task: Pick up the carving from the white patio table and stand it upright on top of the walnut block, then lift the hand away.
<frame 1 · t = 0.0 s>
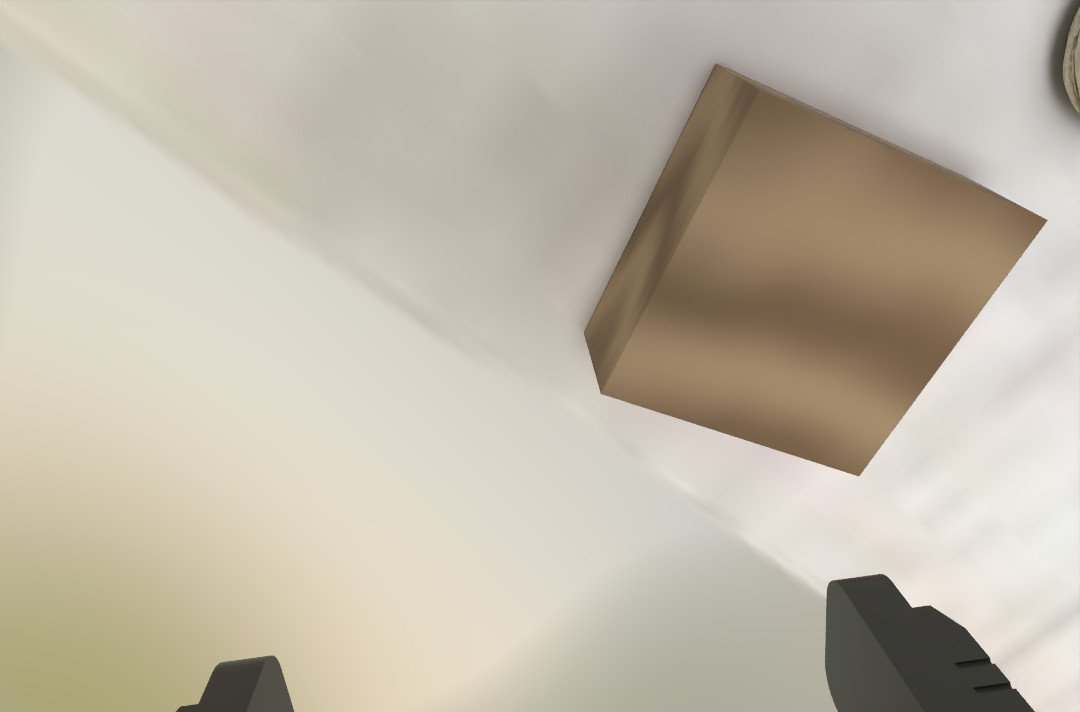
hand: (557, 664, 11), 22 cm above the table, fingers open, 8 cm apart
walnut block: (770, 258, 33), on the table
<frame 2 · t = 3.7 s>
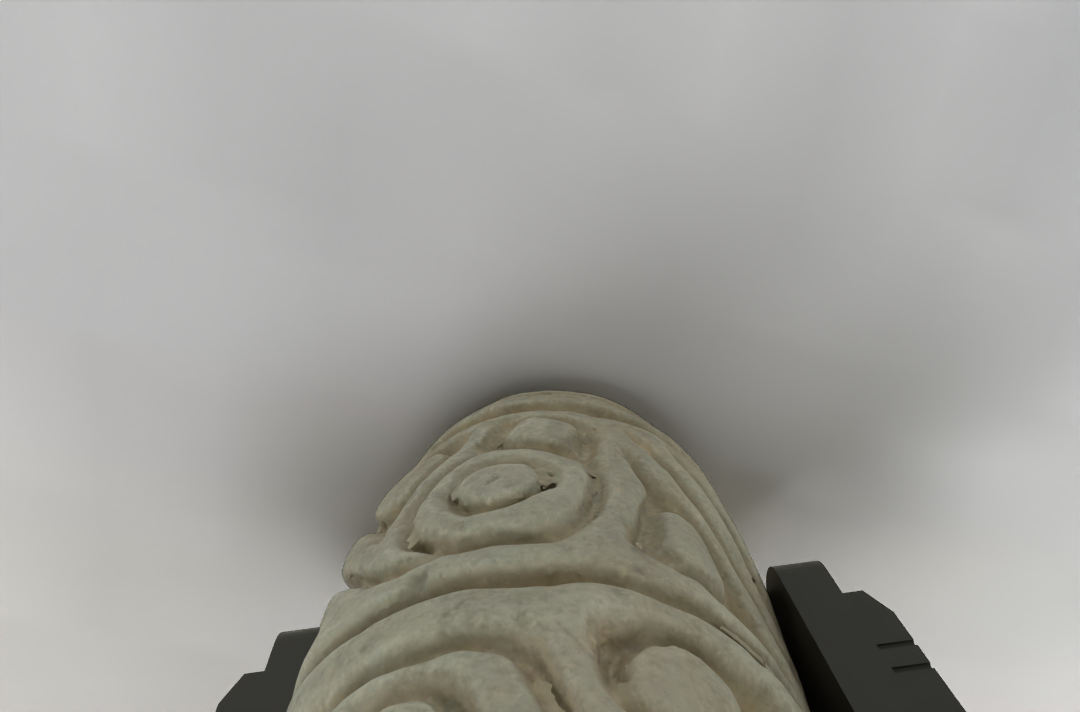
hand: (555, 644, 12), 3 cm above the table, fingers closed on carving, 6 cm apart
carving: (544, 515, 15), on the table, touching gripper
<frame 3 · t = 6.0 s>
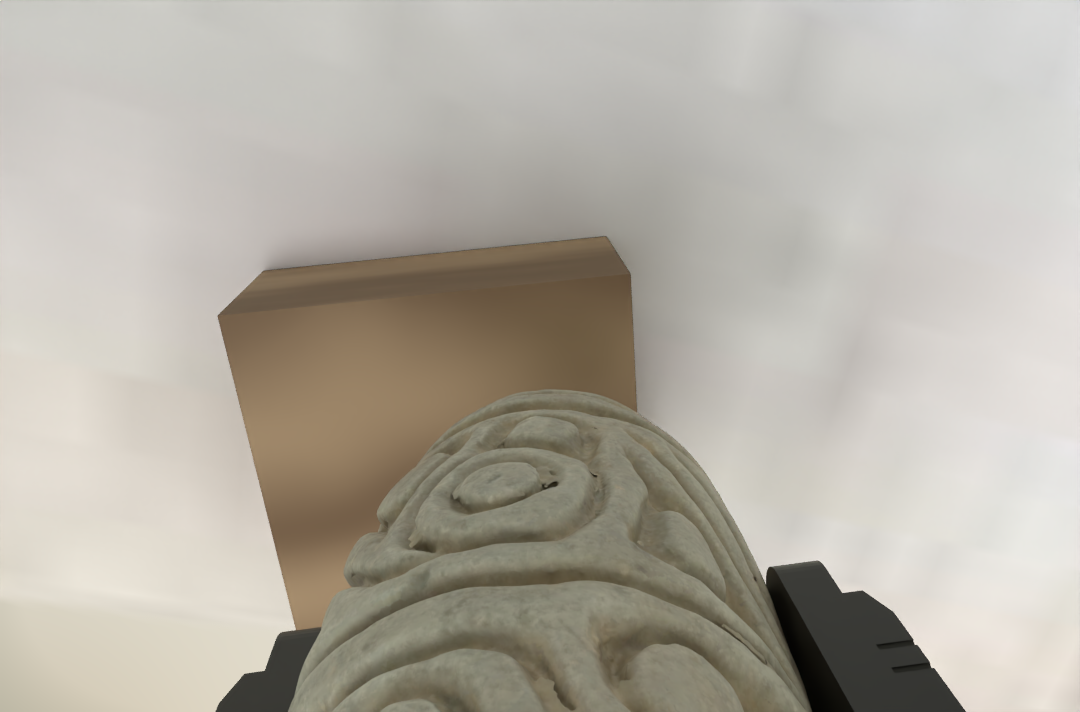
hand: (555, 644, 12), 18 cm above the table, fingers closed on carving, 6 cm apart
carving: (545, 514, 15), point 14 cm above the table, touching gripper
walnut block: (457, 408, 30), on the table
when the fingers open (10 cm above the table, at t = 8.4 s): carving drops 1 cm, resting on walnut block.
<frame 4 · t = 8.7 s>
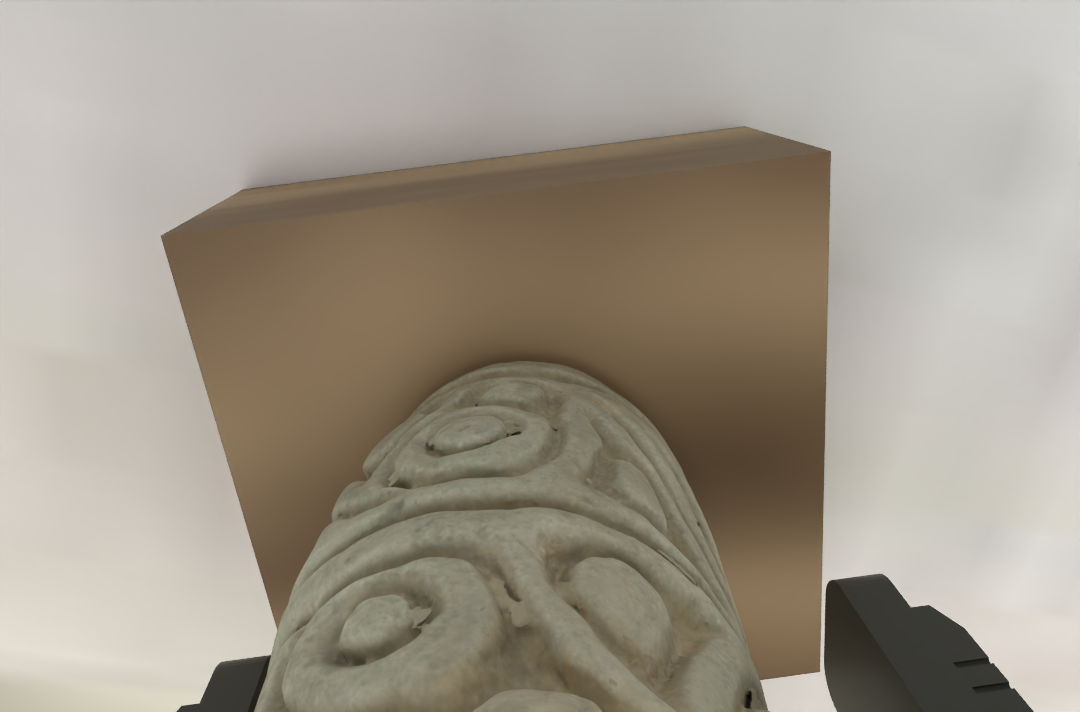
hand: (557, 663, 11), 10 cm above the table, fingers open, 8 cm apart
carving: (520, 479, 16), point 5 cm above the table, touching walnut block
walnut block: (525, 388, 21), on the table
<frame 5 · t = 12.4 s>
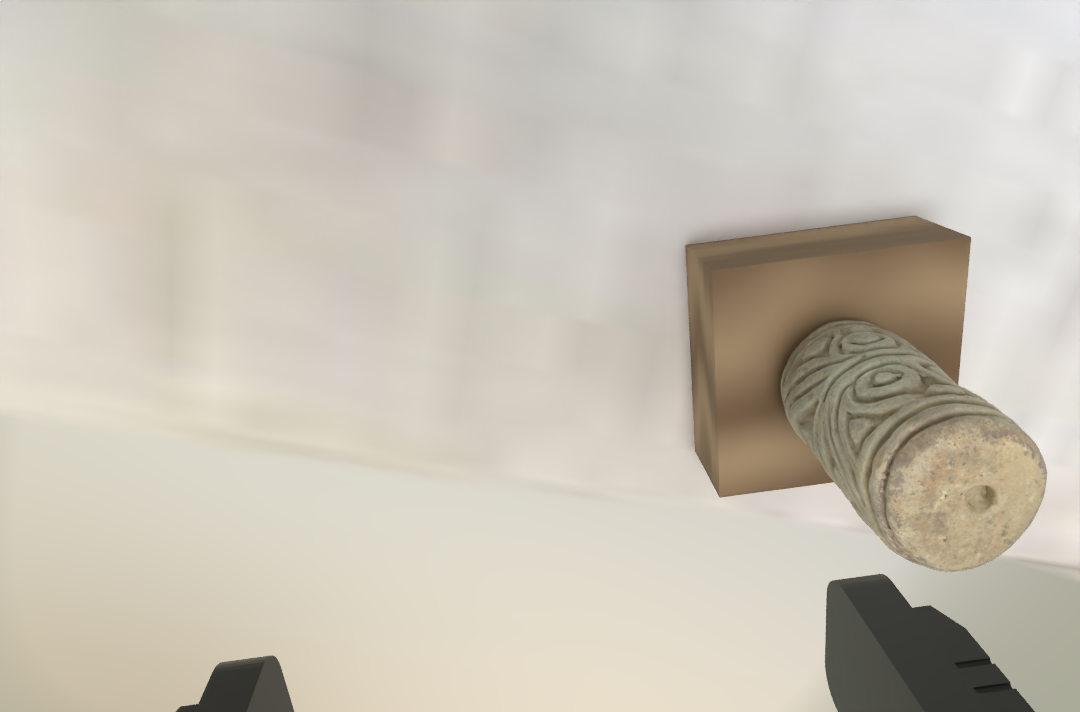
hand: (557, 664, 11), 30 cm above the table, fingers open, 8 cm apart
carving: (829, 372, 38), point 5 cm above the table, touching walnut block
walnut block: (799, 339, 43), on the table
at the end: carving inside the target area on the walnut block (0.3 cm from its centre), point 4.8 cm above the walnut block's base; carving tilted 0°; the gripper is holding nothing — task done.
